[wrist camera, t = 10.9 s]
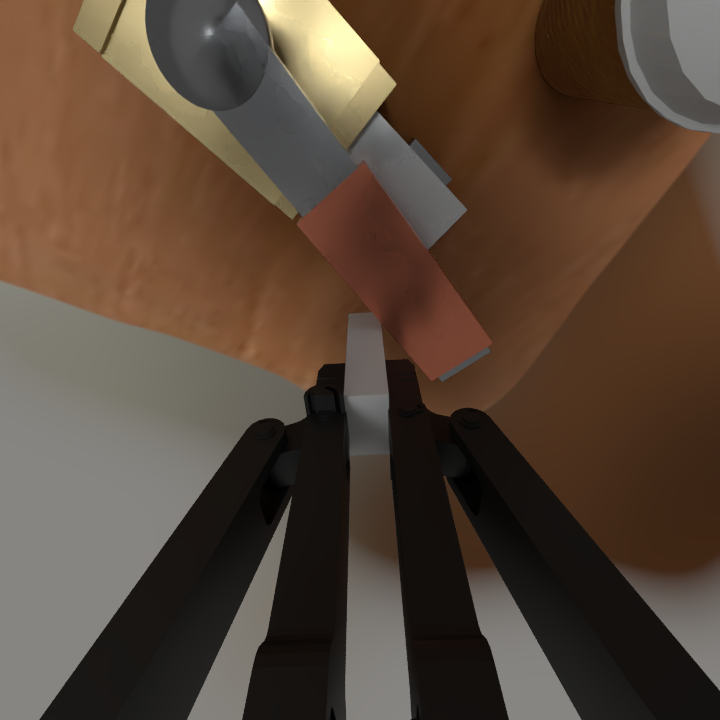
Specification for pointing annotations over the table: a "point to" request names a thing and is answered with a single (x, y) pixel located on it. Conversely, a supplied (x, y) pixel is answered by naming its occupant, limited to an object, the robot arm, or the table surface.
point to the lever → (315, 175)
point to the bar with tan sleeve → (318, 81)
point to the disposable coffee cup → (636, 55)
